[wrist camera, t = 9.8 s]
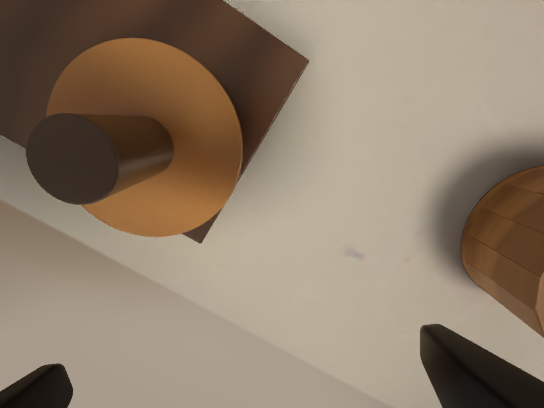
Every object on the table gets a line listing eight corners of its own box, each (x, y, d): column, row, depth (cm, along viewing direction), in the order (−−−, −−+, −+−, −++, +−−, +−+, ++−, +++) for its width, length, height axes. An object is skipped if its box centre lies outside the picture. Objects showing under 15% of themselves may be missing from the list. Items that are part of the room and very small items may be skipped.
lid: (256, 219, 17) (246, 279, 10) (93, 238, 17) (-14, 308, 11) (228, 30, 14) (191, -45, 8) (34, 58, 14) (-155, 8, 8)
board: (308, 63, 15) (310, 60, 15) (203, 239, 18) (200, 244, 17) (-174, -270, 12) (-205, -297, 11) (-209, 12, 15) (-236, 6, 14)
